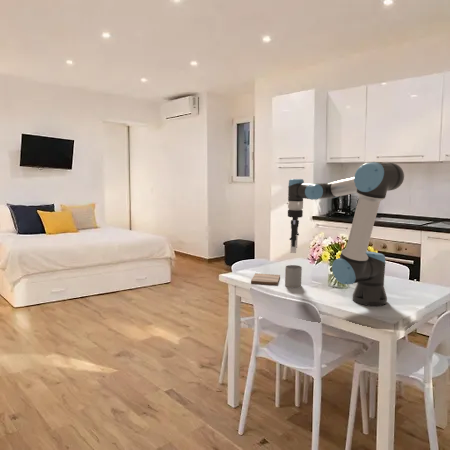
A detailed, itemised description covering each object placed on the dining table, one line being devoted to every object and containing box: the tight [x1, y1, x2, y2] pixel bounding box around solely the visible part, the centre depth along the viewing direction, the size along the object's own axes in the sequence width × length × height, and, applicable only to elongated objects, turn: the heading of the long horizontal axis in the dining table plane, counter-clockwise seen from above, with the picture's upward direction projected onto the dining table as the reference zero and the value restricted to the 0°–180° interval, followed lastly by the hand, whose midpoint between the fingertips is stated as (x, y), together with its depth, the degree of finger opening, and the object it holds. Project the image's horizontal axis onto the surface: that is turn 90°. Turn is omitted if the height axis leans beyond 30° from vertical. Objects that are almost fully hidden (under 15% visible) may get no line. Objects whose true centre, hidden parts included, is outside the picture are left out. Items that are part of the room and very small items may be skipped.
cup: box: [284, 264, 303, 289], centre depth 222 cm, size 8×8×10 cm
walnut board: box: [250, 272, 281, 286], centre depth 233 cm, size 16×14×2 cm
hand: (293, 250), depth 220 cm, fingers open, 13 cm apart
